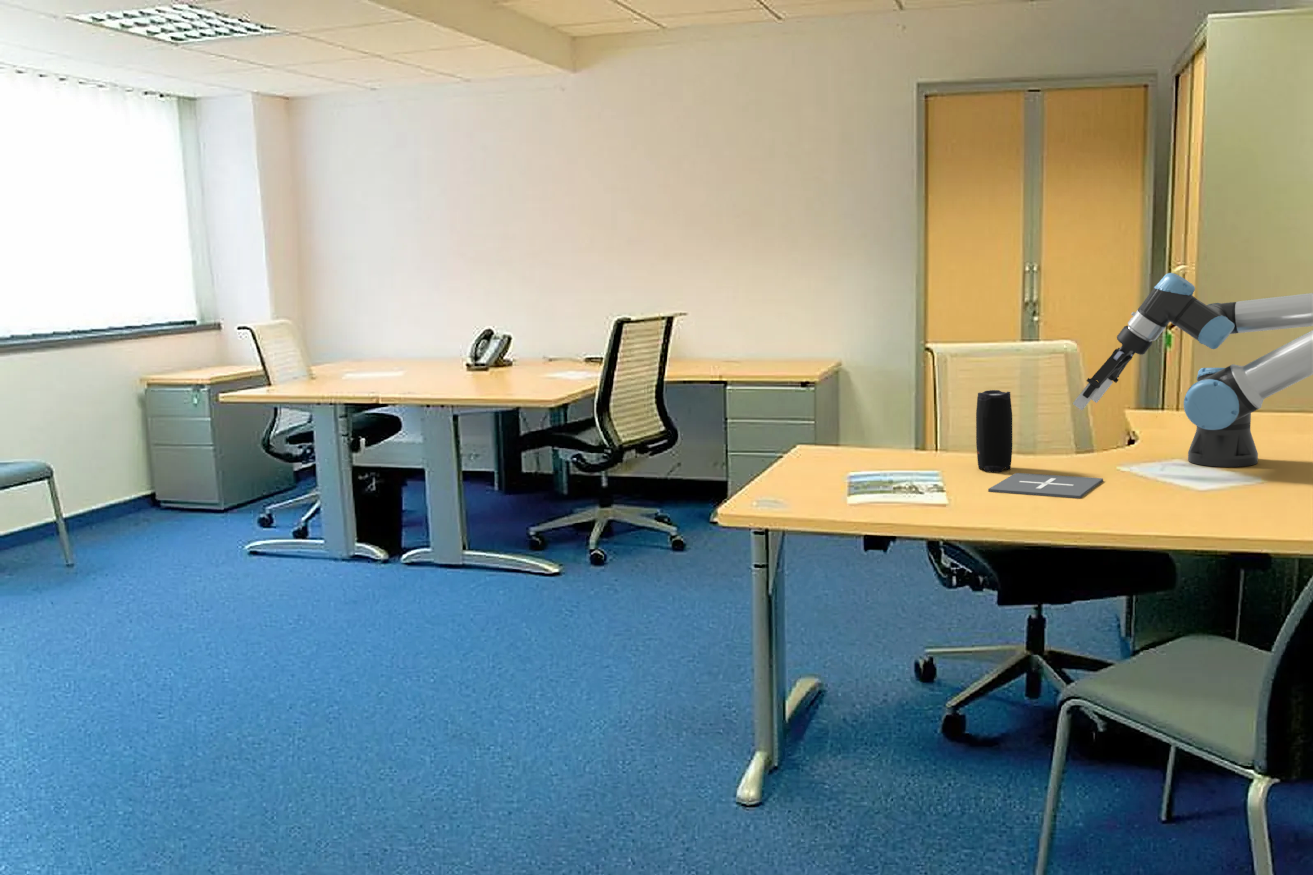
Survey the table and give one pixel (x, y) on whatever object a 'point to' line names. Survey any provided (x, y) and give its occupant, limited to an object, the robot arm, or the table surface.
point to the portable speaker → (994, 430)
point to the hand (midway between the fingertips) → (1084, 403)
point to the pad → (1046, 485)
